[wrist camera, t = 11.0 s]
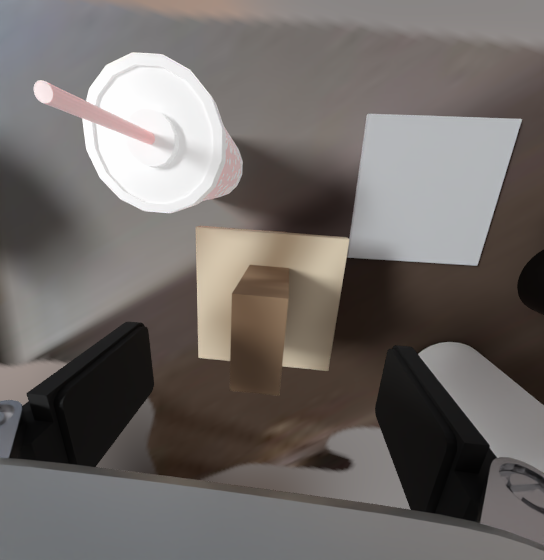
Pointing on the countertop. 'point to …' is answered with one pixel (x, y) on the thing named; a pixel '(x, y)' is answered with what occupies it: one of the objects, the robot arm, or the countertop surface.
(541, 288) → the black winged knob
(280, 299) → the lid
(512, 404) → the can
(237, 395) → the countertop surface
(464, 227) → the mat
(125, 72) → the beverage cup
